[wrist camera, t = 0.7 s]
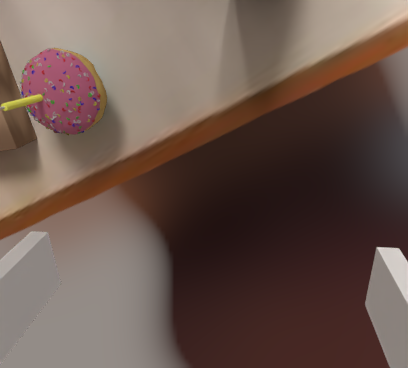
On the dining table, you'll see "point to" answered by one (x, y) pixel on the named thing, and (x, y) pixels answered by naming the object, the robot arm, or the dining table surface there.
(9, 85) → the pedestal
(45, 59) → the cupcake
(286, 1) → the dining table surface
